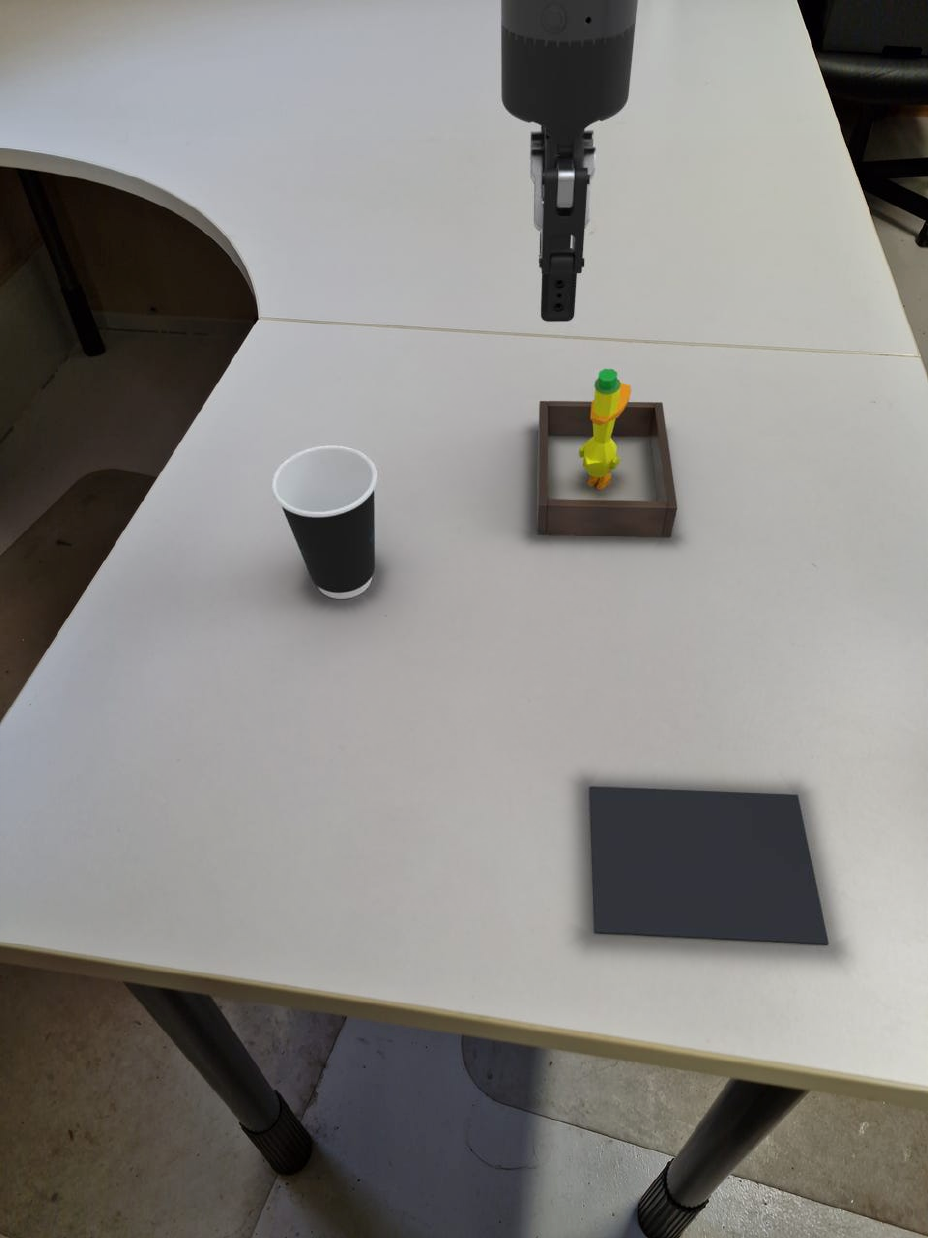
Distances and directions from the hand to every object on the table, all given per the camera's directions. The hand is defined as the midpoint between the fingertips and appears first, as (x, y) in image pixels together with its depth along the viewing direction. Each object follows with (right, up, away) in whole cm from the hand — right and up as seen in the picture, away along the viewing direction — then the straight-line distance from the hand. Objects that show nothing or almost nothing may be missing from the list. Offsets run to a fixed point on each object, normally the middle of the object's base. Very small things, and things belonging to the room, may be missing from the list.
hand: (555, 285), depth 60 cm
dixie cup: (-17, -20, +13) cm, 29 cm away
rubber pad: (+9, -39, -5) cm, 40 cm away
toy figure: (+6, -11, +19) cm, 23 cm away
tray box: (+6, -10, +19) cm, 23 cm away
